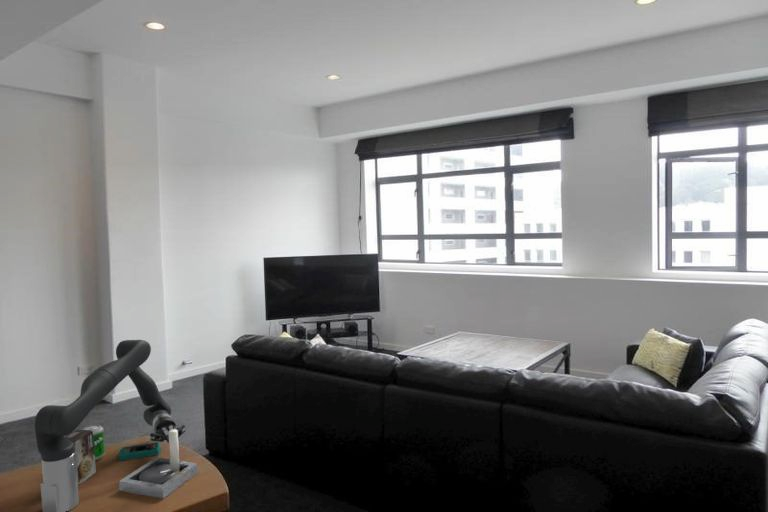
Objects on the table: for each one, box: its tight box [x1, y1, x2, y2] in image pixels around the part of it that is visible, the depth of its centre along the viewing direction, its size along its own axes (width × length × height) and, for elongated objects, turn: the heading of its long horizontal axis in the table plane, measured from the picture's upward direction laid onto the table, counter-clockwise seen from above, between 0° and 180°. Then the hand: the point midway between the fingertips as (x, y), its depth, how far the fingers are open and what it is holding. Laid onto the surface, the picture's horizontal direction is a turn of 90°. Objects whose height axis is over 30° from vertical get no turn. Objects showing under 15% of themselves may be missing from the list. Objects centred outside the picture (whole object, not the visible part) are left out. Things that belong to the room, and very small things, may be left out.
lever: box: [139, 429, 180, 485], centre depth 187 cm, size 13×13×16 cm
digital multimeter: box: [118, 441, 162, 461], centre depth 210 cm, size 7×15×3 cm, turn 109°
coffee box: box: [64, 429, 97, 486], centre depth 191 cm, size 9×6×16 cm
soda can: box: [82, 424, 106, 462], centre depth 207 cm, size 8×8×12 cm
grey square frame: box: [118, 457, 199, 499], centre depth 188 cm, size 18×18×4 cm
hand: (172, 440), depth 195 cm, fingers closed
